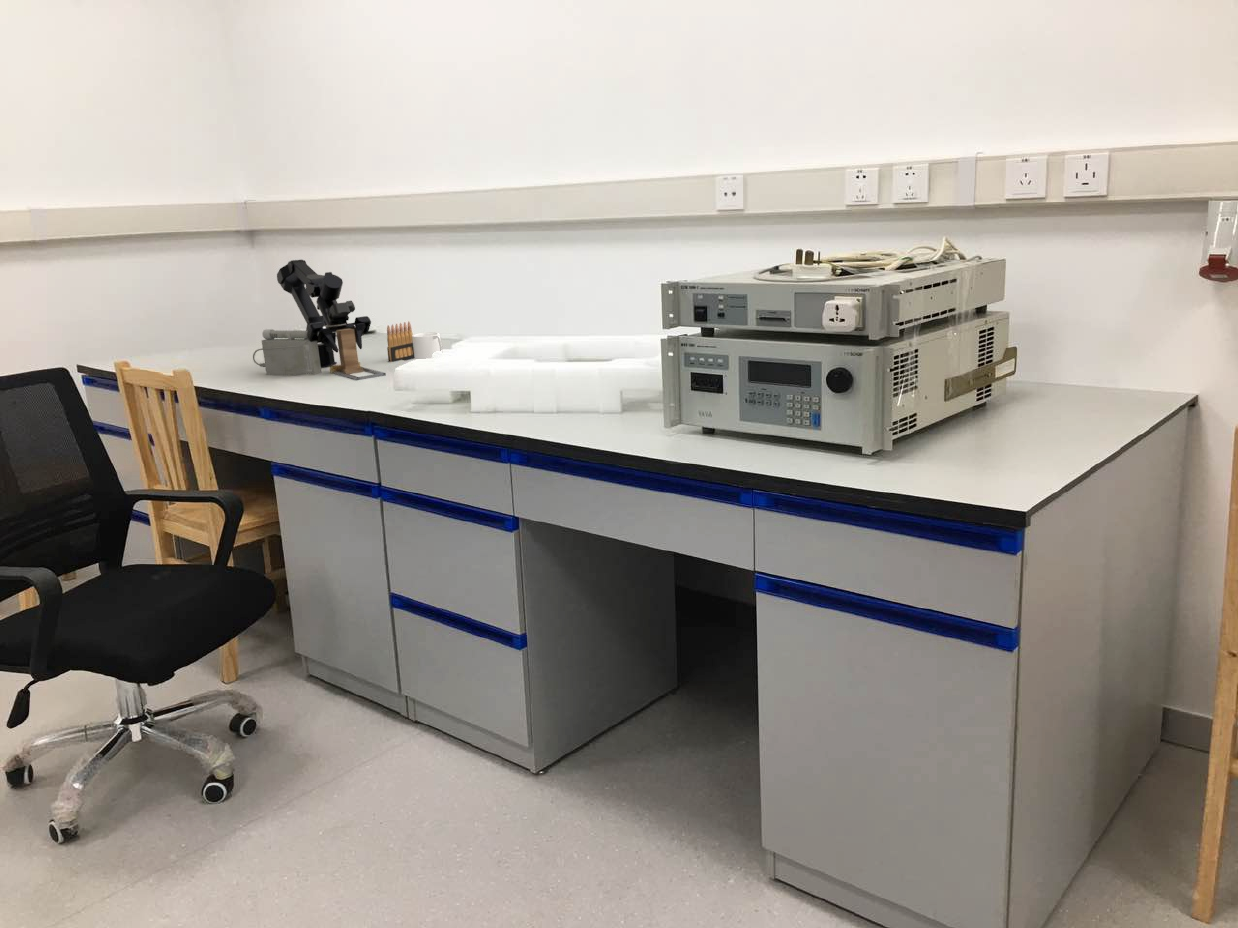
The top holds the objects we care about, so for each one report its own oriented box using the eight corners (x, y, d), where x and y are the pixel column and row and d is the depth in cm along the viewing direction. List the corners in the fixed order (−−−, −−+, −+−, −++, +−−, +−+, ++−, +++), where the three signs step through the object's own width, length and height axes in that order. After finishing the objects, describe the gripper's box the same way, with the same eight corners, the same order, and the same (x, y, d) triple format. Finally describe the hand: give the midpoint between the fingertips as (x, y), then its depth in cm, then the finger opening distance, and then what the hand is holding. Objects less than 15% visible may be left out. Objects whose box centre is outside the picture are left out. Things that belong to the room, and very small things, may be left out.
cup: (432, 371, 299) (428, 338, 296) (410, 368, 308) (406, 335, 305) (455, 367, 304) (451, 334, 302) (433, 364, 313) (429, 331, 310)
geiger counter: (318, 328, 304) (256, 328, 315) (304, 331, 299) (241, 331, 309) (325, 373, 308) (263, 372, 318) (310, 377, 302) (248, 375, 313)
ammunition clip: (392, 363, 319) (387, 325, 316) (388, 363, 320) (383, 325, 317) (417, 357, 327) (412, 321, 324) (413, 357, 328) (408, 320, 325)
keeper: (338, 372, 305) (332, 330, 302) (355, 369, 309) (350, 327, 305) (345, 374, 301) (339, 331, 297) (363, 371, 304) (357, 329, 300)
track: (330, 373, 306) (329, 366, 306) (358, 369, 312) (357, 361, 311) (357, 381, 290) (355, 373, 289) (386, 377, 295) (385, 368, 294)
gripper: (304, 296, 296) (323, 336, 291) (364, 289, 307) (383, 328, 301) (299, 321, 305) (317, 361, 299) (358, 313, 315) (376, 351, 309)
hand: (349, 349), depth 302 cm, fingers open, 7 cm apart
